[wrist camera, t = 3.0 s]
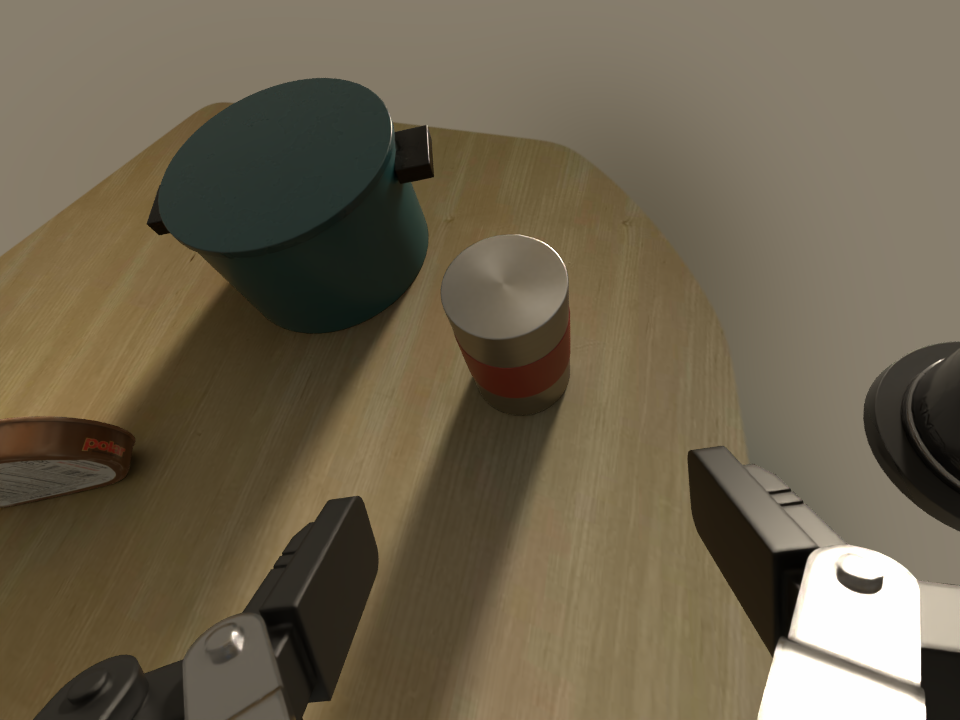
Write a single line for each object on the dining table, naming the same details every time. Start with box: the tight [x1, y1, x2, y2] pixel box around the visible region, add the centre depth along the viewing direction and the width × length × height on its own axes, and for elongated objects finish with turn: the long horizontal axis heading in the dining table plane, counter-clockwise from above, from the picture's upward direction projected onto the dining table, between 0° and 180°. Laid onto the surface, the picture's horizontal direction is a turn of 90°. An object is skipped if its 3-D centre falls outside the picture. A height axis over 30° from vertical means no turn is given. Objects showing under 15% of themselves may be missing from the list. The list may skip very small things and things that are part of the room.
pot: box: [147, 78, 434, 333], centre depth 36 cm, size 21×17×10 cm
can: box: [441, 235, 570, 415], centre depth 28 cm, size 6×6×10 cm
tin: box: [0, 417, 136, 508], centre depth 31 cm, size 15×3×8 cm, turn 99°
